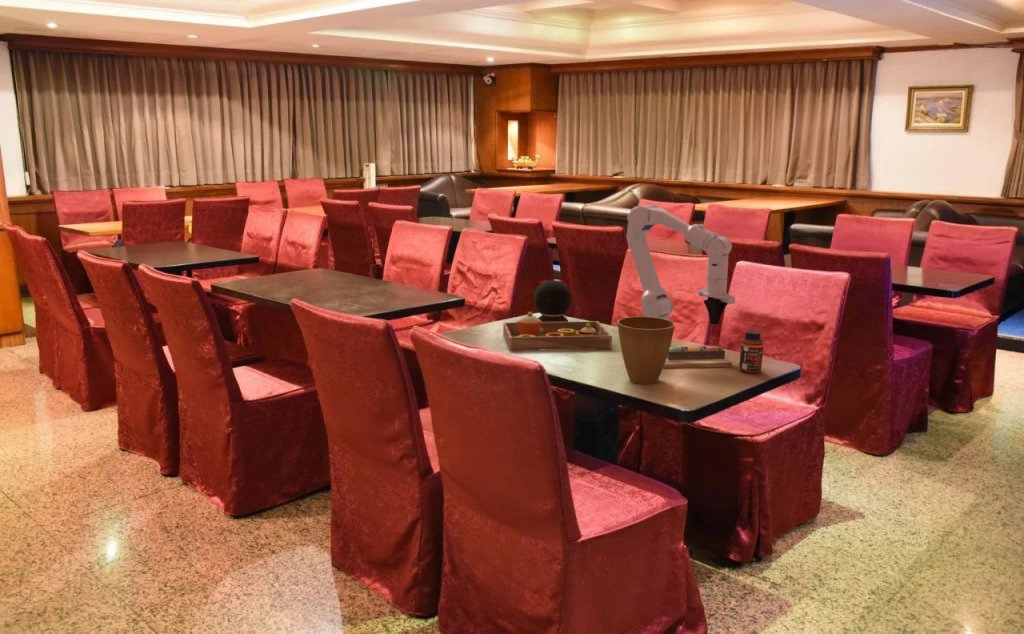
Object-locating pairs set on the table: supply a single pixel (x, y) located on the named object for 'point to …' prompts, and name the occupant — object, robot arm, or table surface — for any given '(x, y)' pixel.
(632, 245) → the robot arm
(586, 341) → the tea set tray rim
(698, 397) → the table surface
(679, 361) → the button board
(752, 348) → the supplement bottle
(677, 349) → the teal button
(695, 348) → the ochre button
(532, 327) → the toy tea set
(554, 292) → the dark fuzzy ball
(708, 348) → the brick button
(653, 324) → the plant pot
